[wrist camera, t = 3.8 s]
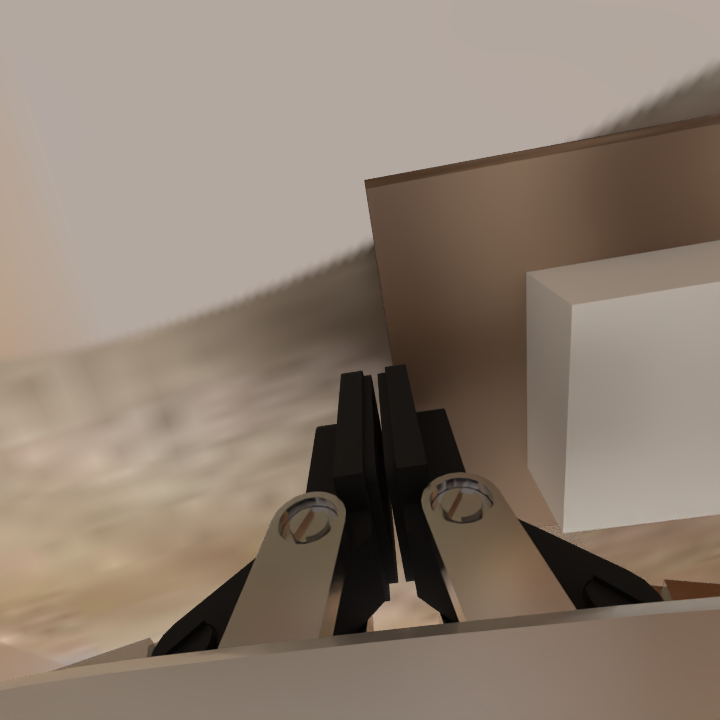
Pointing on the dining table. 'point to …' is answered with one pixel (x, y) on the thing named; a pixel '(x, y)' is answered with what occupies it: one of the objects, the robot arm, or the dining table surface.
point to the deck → (522, 266)
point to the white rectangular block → (626, 387)
